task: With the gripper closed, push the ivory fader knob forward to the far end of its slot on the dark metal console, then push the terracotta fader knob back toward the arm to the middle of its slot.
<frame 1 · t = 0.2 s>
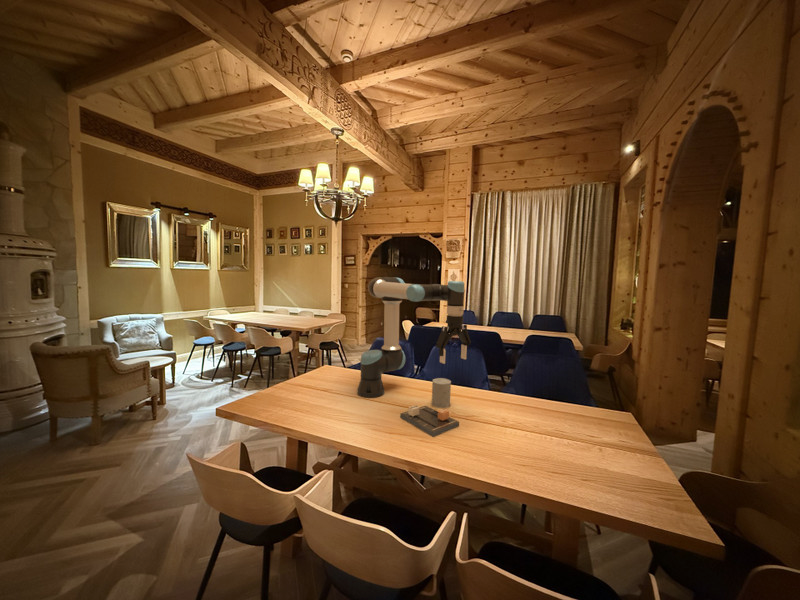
hand: (453, 360, 148), 28 cm above the table, fingers open, 13 cm apart
fader terracotta: (443, 414, 145), point 4 cm above the table, slide at 5.0 cm
console: (428, 421, 146), on the table
fader ivory: (413, 410, 148), point 4 cm above the table, slide at -6.0 cm
grey speckled cylinder: (440, 404, 167), on the table
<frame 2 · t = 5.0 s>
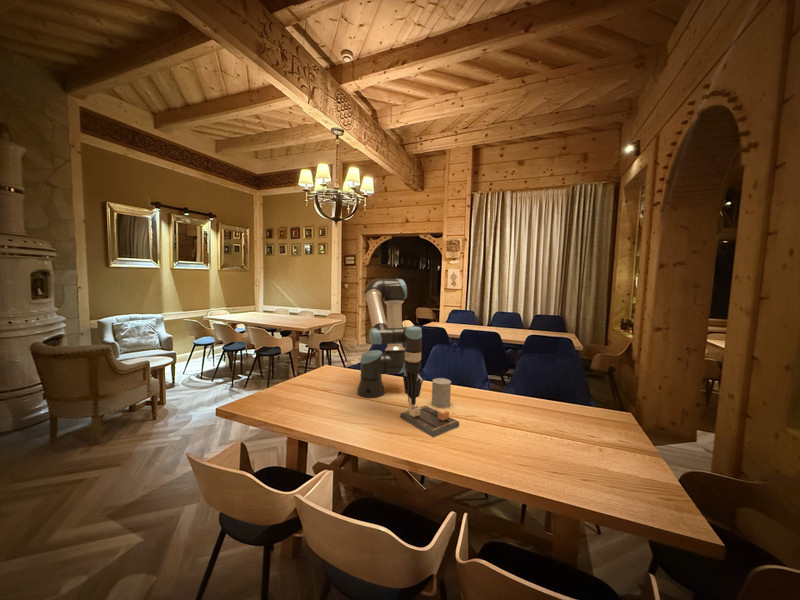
hand: (411, 410, 149), 4 cm above the table, fingers closed
fader ivory: (415, 411, 148), point 4 cm above the table, slide at -5.2 cm, touching gripper
everything else where it was.
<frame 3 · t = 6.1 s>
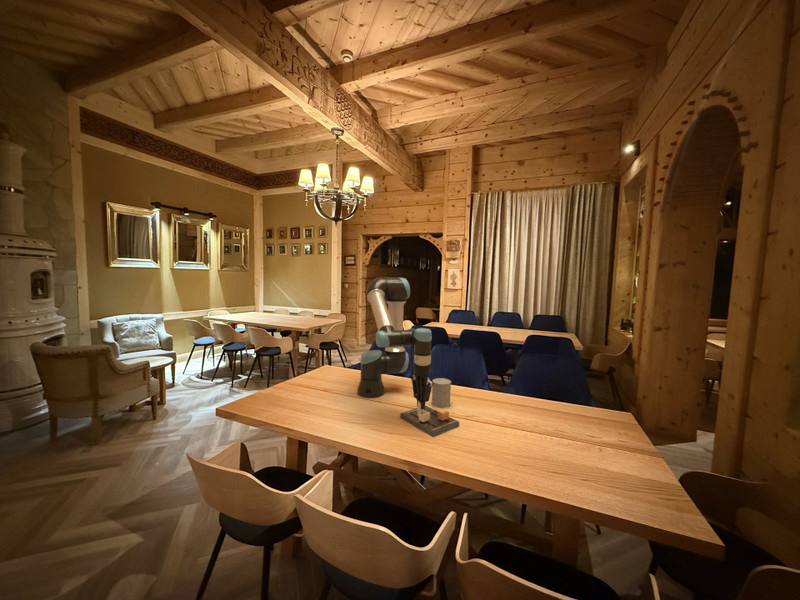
hand: (420, 415, 144), 4 cm above the table, fingers closed
fader ivory: (424, 415, 143), point 4 cm above the table, slide at 1.1 cm, touching gripper
everything else where it was.
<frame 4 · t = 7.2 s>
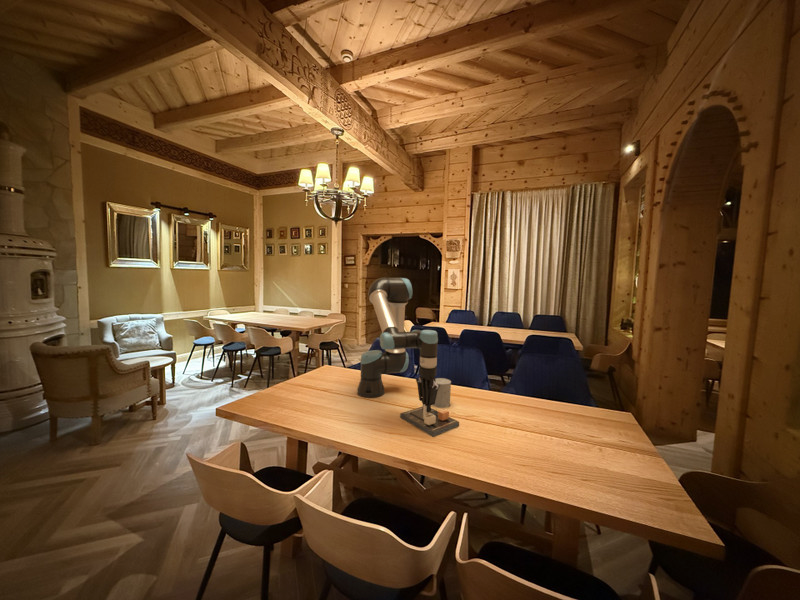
hand: (426, 418, 142), 4 cm above the table, fingers closed
fader ivory: (429, 418, 140), point 4 cm above the table, slide at 4.7 cm, touching gripper
everything else where it was.
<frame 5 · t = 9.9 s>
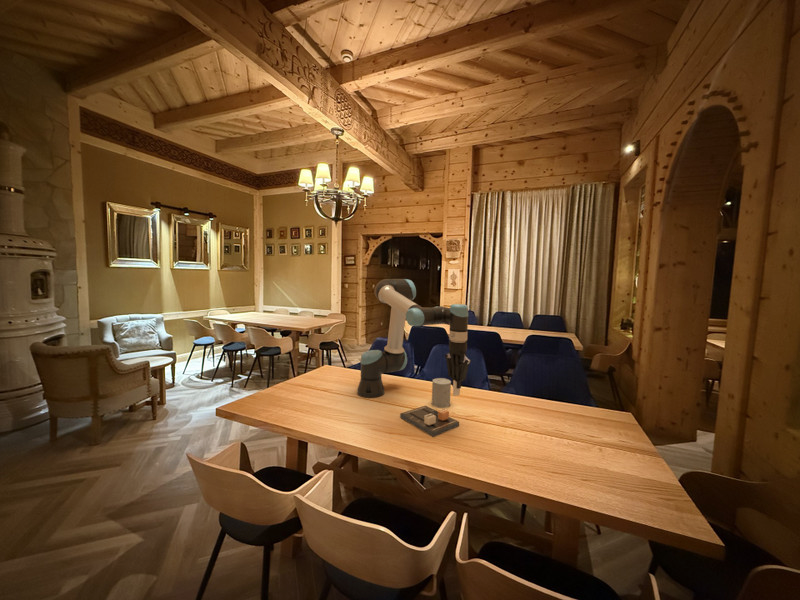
hand: (456, 394, 138), 16 cm above the table, fingers closed
fader ivory: (430, 418, 140), point 4 cm above the table, slide at 4.7 cm
everything else where it was.
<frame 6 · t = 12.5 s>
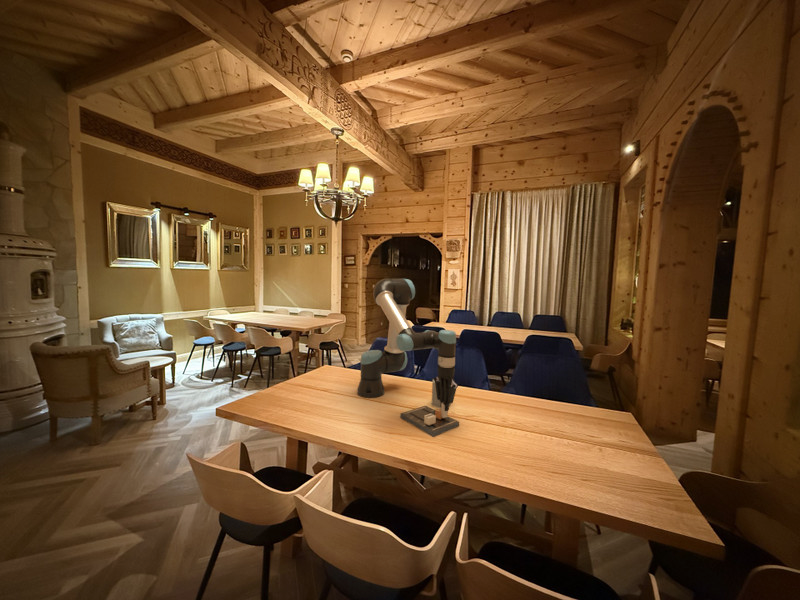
hand: (444, 416, 144), 3 cm above the table, fingers closed
fader terracotta: (440, 413, 146), point 4 cm above the table, slide at 3.3 cm, touching gripper
everything else where it was.
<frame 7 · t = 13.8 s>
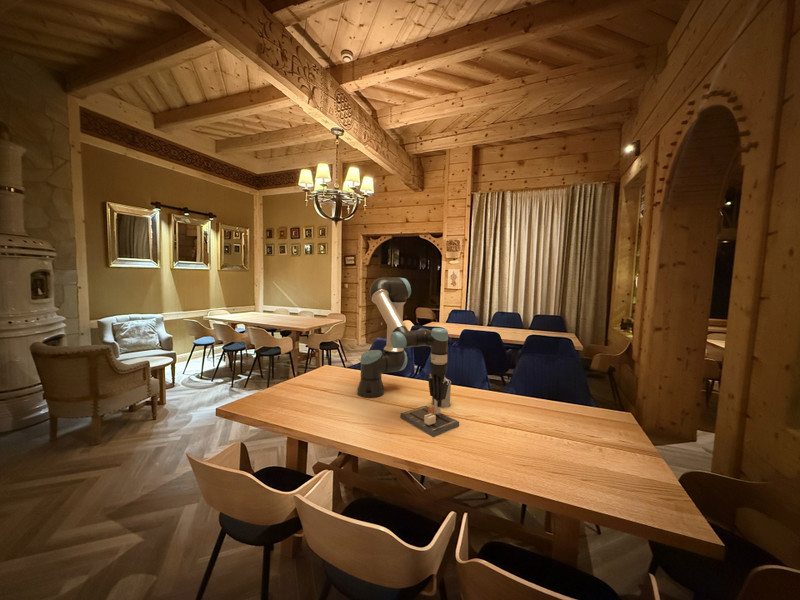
hand: (437, 412, 148), 4 cm above the table, fingers closed
fader terracotta: (433, 409, 149), point 4 cm above the table, slide at -1.2 cm, touching gripper
everything else where it was.
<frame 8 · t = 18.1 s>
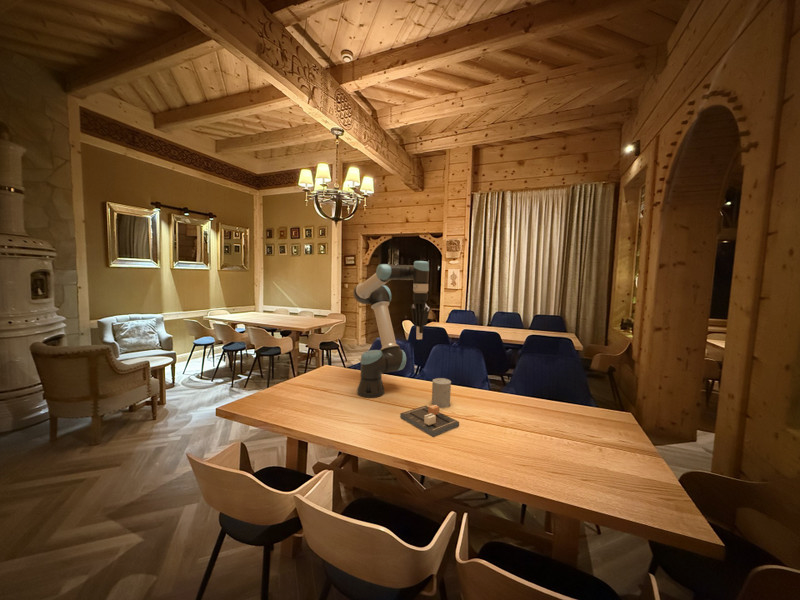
hand: (419, 339, 162), 34 cm above the table, fingers closed
fader terracotta: (433, 409, 149), point 4 cm above the table, slide at -1.2 cm
everything else where it was.
at the end: fader ivory slide at 4.7 cm; fader terracotta slide at -1.2 cm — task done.
